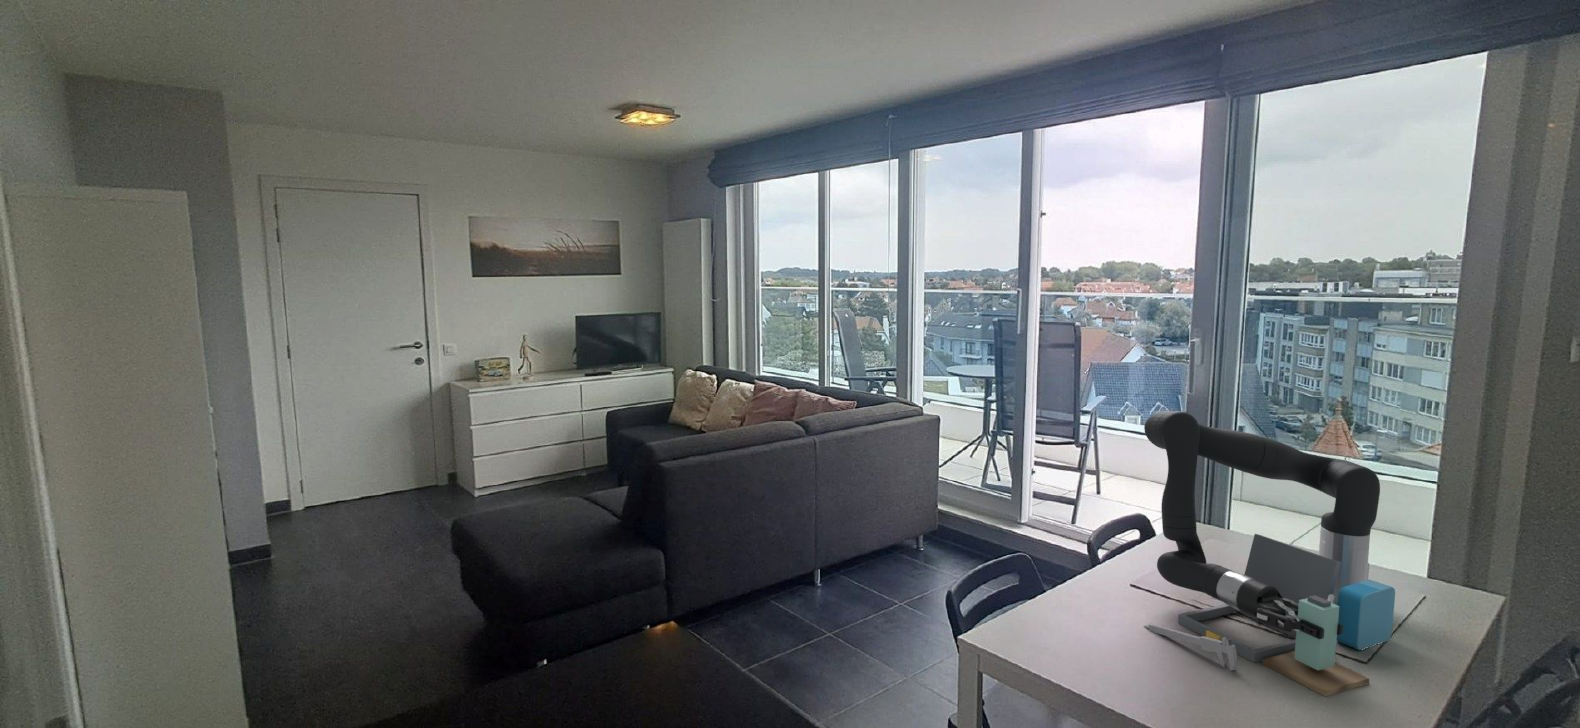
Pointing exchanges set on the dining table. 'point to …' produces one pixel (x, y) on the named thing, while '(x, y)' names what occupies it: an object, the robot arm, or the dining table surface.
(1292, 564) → the equipment case
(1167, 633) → the caliper
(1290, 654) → the walnut board
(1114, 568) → the dining table surface
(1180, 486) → the robot arm
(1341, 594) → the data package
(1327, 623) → the block
